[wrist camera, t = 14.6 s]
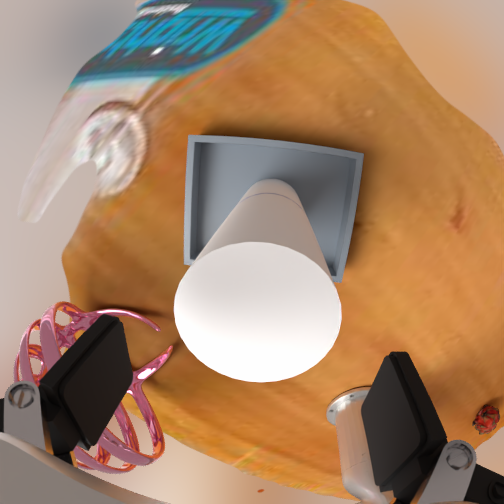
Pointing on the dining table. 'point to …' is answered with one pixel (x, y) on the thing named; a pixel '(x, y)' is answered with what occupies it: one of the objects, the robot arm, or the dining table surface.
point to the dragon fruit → (486, 419)
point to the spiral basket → (108, 443)
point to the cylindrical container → (260, 291)
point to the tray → (274, 167)
